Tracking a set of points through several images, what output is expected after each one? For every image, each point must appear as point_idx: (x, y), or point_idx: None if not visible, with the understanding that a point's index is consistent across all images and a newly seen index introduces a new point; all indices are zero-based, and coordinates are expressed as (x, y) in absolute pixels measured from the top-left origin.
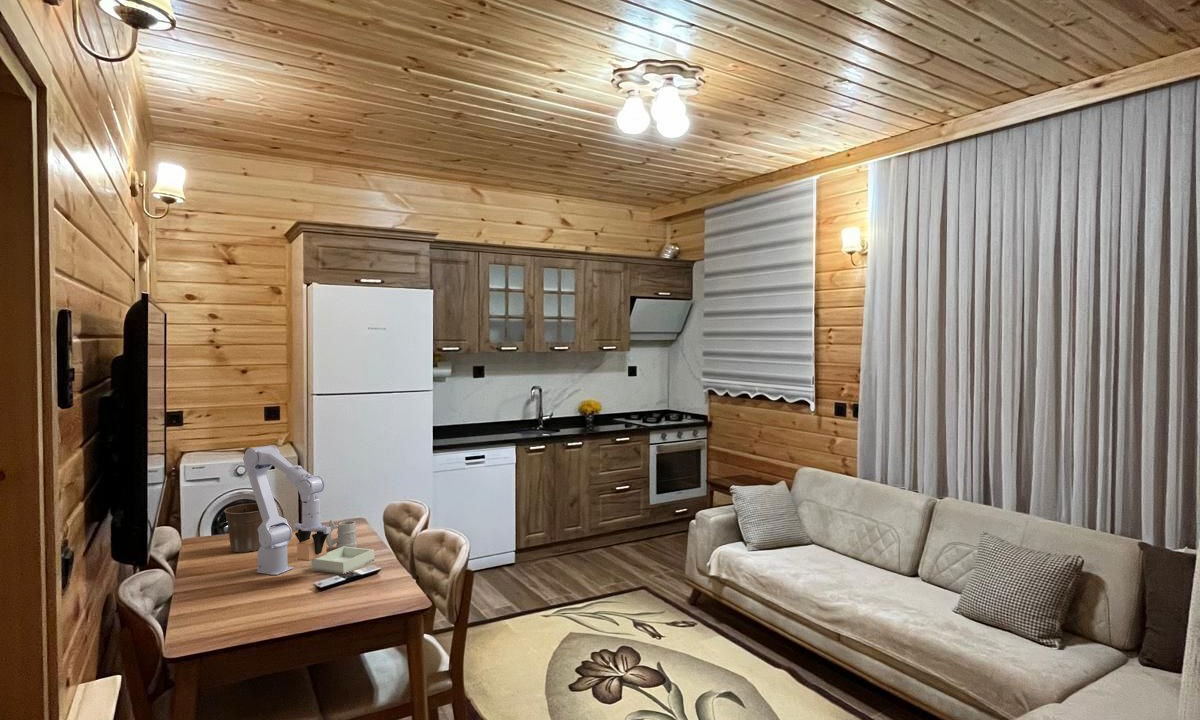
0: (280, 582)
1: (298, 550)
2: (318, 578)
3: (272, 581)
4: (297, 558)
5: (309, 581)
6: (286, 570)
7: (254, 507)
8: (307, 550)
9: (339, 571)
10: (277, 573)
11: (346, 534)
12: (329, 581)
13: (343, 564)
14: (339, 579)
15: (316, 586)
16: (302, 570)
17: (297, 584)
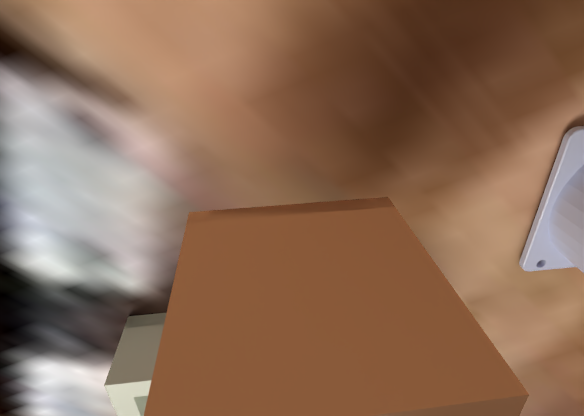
0: (435, 17)
1: (416, 281)
2: (214, 206)
3: (521, 10)
4: (393, 206)
5: (219, 133)
6: (538, 218)
7: None
8: (201, 319)
9: (160, 324)
10: (567, 144)
11: None
12: (74, 193)
13: (109, 374)
14: (52, 248)
15: (44, 61)
16: (441, 266)
17: (251, 35)
